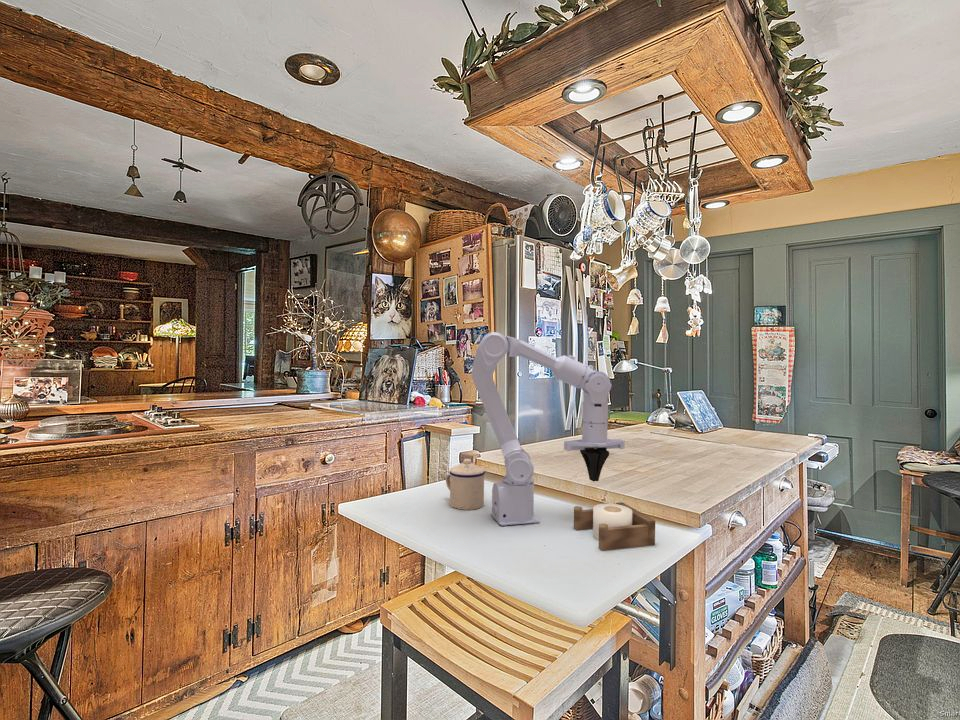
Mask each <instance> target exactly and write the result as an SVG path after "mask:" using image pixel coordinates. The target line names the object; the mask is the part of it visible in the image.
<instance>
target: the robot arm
mask: <svg viewBox="0 0 960 720" xmlns="http://www.w3.org/2000/svg"><path fill="white" fill-rule="evenodd" d="M506 354H507V357H510V358H511V357H512V358H513V357H521V358H523V359H526V360H528V361H530V362H533V363H535V364H537V365H539V366H542V367H544V368H547V369H549V370H551V374H552V376H553V378H554V379H557V380H559V381H561V382H563V383H565V384H567V385H570V386H572V387H574V388H576V389H581V390H582V391H583V401H582V422H581V423H582V427H581V429H582V431H581V432H582V433H581V437H582V438H581V439H575V440H574V439H573V440H564V441H563V450H565V451H567V452H571V451H580V453H581V456H582V459H583V461H584V463H585V467H586V469H587V474H588V478H589V479H588V480H590V481H591V482H599V480H600V476H601V472H602V470H603V467H604V465H605V462H606V461H607V459H608V458H609V456H610V451H609V450H608V449H619V450H624V449H625V440H624V439H613V438H612V439H611V438H610V439H609V438H608V423H609V422H608V419H609V418H608V414H609V403H608V397H609V396H608V395H609V392H610V391H611V389H612V386H613V385H612V383H611V379H610V377H609V376H608V374H606V373H605V372H603V371H600V370H597V369H594V366H593V365H591V364H589V365H587V364H585V363H582V362H581V361H578V360H577V359H576V357H575V356H573V355H568V356H567V355H561V356H559V357H556V356H554V355H552V354H551V353H548V352H546V351H543V350H542V349H540V348H538V347H536V346H534V345H532V344H530V343H529V342H527V341H524V340H522V339H519V338H516V337H512V336H509V335H504V334H502V333H500V332H496V331H491V332H488V333H487V334H485V335H484V336H483V337H482V339H481V340H480V342H479V344H478V345H477V347H476V350H475V355H474V359H473V365H472V369H471V374H470V375H471V379H472V382H473V384H474V386H475V388H476V391H477V394H478V396H479V399H480V401H481V404H482V406H483V408H484V411H485V413H486V415H487V418H488V420H489V423H490V425H491V428H492V429H493V432H494V434H495V437H496V440H497V442H498V446H499V447H500V450H501V453H502V455H503V458H504V466H505V475H504V476H503V477H502V480H501V481H498V482H494V483H493V484H492V490H491V499H492V500H491V512H490V515H491V516H492V517H493V518H494V520H495V521H496V522H497V523H498V524H499V525H500V526H501V527H502V526H513V525H524V524H525V525H527V524H535V523H536V524H537V523H540V519H539V518H538V517H536V516H535V514H534V505H535V504H534V496H535V494H534V493H535V492H534V491H535V488H534V487H535V486H534V485H535V479H534V478H533V476H534V472H535V469H534V465H533V463H532V461H531V457H530V455H529V453H528V452H527V451H526V450H525V449H523V447H522V446H521V444H520V441H519V438H518V436H517V434H516V431H515V429H514V426H513V425H512V421H511V419H510V417H509V415H508V412H507V410H506V407H505V404H504V403H503V400H502V398H501V396H500V395H501V394H500V393H499V390H498V388H497V385H496V383H495V381H494V378H493V375H494V372H495V370H496V369H497V366H498V363H499V362H501V360H502V359H504V357H505V356H506Z"/></svg>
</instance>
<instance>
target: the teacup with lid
mask: <svg viewBox="0 0 960 720" xmlns="http://www.w3.org/2000/svg"><path fill="white" fill-rule="evenodd" d="M485 474H486V471H485V469H484V467H482V466H479V465H477V464H475V463H474V462H472V459H471V458H463V462H462V463H459V464H458V465H455V466H452V467H451V468H450V469H449V472H448V473H447V474H446V475H445V484H446V487H447V489H448V491H449V505H450V506H451V507H452V508H453V507H454V508H453V509H456V508H457V509H456V510H461V509H463V510H462V511H472V510H473V509H474V510H477V509H481V508H482V507H483V506H484V505H485Z"/></svg>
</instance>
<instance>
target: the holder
mask: <svg viewBox="0 0 960 720" xmlns="http://www.w3.org/2000/svg"><path fill="white" fill-rule="evenodd" d="M615 504H618V505H622V506H626V507H628V508H630V509H631V510H632V525H630V526H619V527H609V528H608V525H607V524H599V541H598V549H599V550H600V551H601V552H602V551H603V552H604V551H612V550H619V549H621V548H622V549H630V547H631V548H638V547H648V546H655V545H656V520H655V519H653V518H651V517H650V516H648V515H646V514H644V513H643V512H641V511H639V510H637V509H635V508H634V507H632V506H629V505H628V504H626V503H624V502H621V501H620V502H616V503H615ZM573 529H574V530H575V531H583V530H584V531H586V530H593V508H590V509H583V507H582V506H579V505H578V506H574V507H573Z"/></svg>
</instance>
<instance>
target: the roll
mask: <svg viewBox="0 0 960 720" xmlns="http://www.w3.org/2000/svg"><path fill="white" fill-rule="evenodd" d="M592 509H593V529H592V537H593V539H594V540H596V541H597V542H599V524H607V525H608V528H609V527H619V526H630V525H632V510H631V509H630V508H628V507H626V506H622V505H618V504H616V503H598V504H595V505H594V506H593V508H592Z"/></svg>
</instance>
